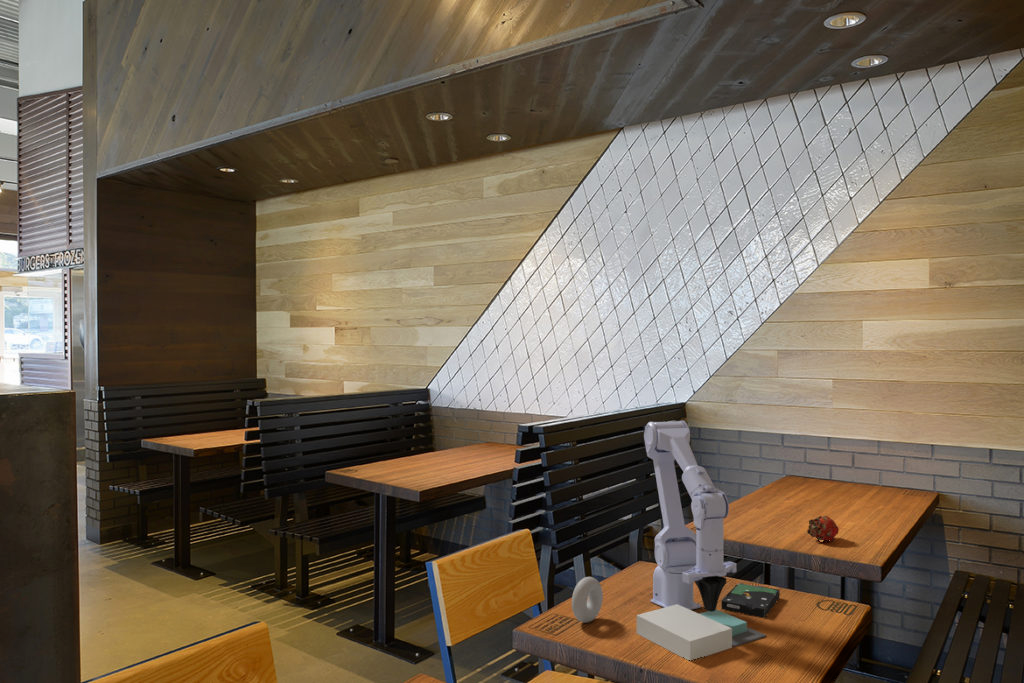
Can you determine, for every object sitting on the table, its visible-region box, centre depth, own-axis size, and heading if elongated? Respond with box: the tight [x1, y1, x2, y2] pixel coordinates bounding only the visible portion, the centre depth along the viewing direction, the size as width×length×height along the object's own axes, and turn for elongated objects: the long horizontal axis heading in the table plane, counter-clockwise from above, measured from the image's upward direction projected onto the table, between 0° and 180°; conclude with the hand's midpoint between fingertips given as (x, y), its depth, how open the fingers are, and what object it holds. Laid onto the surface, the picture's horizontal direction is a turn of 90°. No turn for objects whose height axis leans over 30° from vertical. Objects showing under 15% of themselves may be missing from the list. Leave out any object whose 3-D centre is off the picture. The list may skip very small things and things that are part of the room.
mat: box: [732, 626, 767, 648], centre depth 162 cm, size 16×10×1 cm, turn 31°
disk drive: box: [720, 582, 781, 618], centre depth 177 cm, size 10×3×15 cm
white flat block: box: [636, 604, 733, 662], centre depth 156 cm, size 16×12×4 cm
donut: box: [571, 576, 604, 623], centre depth 167 cm, size 10×4×10 cm, turn 141°
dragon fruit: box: [806, 515, 839, 542], centre depth 230 cm, size 8×8×12 cm
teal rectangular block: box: [699, 608, 748, 636], centre depth 162 cm, size 9×6×2 cm, turn 31°
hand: (709, 609), depth 161 cm, fingers closed
